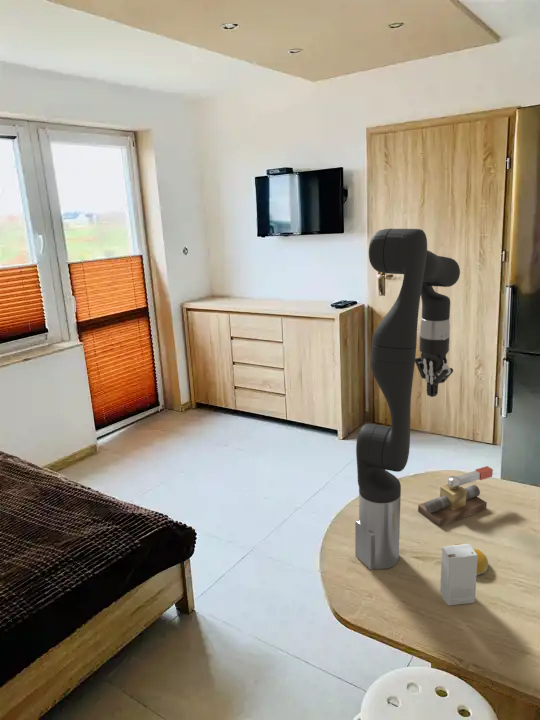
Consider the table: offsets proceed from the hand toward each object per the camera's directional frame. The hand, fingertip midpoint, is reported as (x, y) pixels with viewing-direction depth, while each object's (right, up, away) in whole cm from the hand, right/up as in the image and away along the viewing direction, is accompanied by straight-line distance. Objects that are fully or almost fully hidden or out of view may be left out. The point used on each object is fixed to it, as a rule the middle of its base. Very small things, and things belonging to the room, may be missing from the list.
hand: (431, 395), depth 154 cm
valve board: (+4, -30, -5) cm, 31 cm away
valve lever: (+8, -22, -6) cm, 24 cm away
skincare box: (-5, -41, -36) cm, 54 cm away
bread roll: (0, -37, -25) cm, 45 cm away
